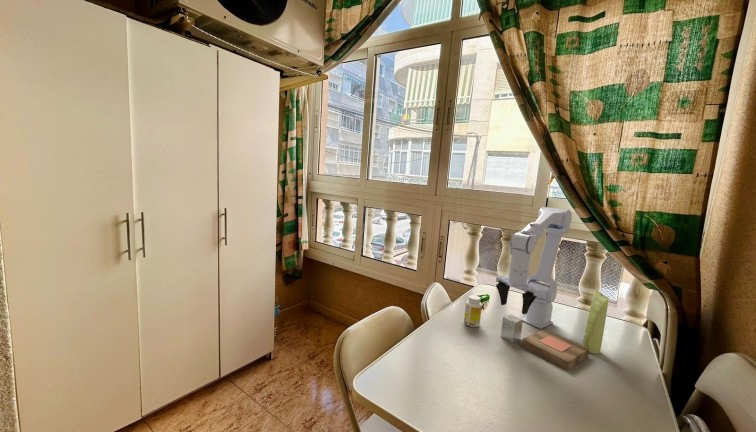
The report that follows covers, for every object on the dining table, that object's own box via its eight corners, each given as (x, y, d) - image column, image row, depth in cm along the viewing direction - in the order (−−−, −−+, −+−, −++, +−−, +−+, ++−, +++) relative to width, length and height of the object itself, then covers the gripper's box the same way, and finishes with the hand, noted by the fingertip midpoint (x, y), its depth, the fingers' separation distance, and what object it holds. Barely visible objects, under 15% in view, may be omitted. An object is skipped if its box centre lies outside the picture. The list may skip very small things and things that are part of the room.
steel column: (508, 333, 109) (510, 314, 108) (520, 339, 105) (523, 319, 105) (500, 336, 106) (503, 317, 106) (512, 342, 103) (515, 322, 102)
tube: (605, 352, 100) (615, 294, 98) (598, 357, 98) (608, 297, 95) (585, 344, 105) (595, 288, 102) (578, 348, 102) (588, 291, 100)
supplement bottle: (482, 325, 114) (485, 298, 112) (473, 329, 110) (477, 301, 109) (469, 319, 118) (472, 293, 117) (460, 322, 114) (463, 296, 113)
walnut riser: (543, 335, 109) (544, 328, 109) (587, 356, 98) (589, 348, 97) (521, 346, 101) (522, 338, 100) (567, 370, 90) (568, 361, 89)
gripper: (492, 265, 106) (487, 302, 108) (533, 278, 95) (528, 320, 96) (504, 262, 110) (499, 299, 112) (545, 275, 99) (539, 315, 100)
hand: (513, 308), depth 105 cm, fingers open, 7 cm apart
